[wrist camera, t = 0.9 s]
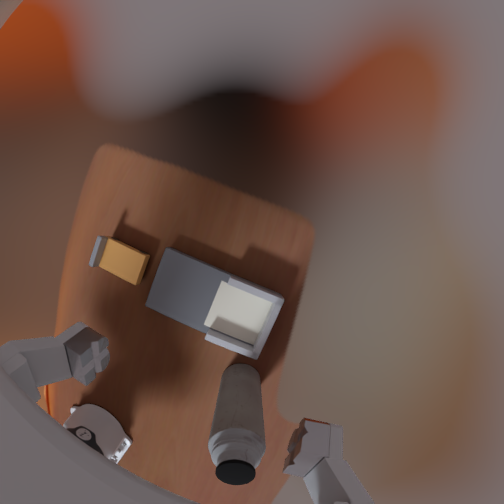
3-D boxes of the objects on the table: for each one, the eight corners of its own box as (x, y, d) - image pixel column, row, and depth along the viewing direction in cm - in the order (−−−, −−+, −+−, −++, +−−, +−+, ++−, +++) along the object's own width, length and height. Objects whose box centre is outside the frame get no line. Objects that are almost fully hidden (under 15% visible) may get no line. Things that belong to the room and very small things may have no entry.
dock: (256, 348, 53) (256, 359, 47) (150, 302, 53) (139, 308, 47) (280, 293, 53) (284, 299, 47) (170, 247, 52) (161, 247, 46)
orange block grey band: (142, 283, 52) (130, 287, 46) (103, 263, 52) (88, 264, 46) (151, 255, 52) (140, 256, 46) (112, 236, 52) (97, 235, 46)
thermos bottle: (241, 401, 53) (236, 498, 25) (213, 379, 53) (189, 472, 25) (268, 379, 53) (281, 475, 25) (240, 355, 53) (233, 446, 25)
